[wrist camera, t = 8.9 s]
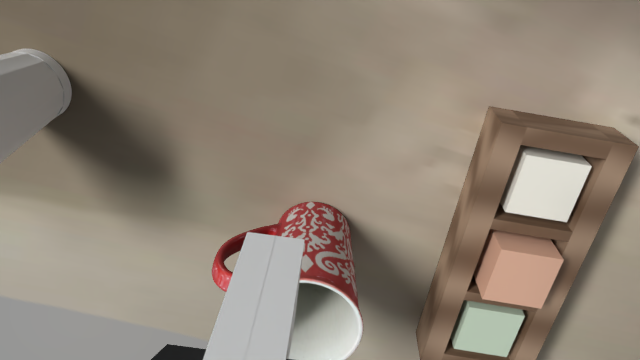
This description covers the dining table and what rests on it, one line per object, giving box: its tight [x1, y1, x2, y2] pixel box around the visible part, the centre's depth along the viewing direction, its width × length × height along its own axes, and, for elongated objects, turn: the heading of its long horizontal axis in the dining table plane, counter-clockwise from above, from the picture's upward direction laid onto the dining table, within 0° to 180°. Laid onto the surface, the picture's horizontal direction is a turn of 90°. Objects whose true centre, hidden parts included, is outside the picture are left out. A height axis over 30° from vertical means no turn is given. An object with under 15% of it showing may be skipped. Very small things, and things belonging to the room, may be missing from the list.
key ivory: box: [500, 145, 592, 222], centre depth 43 cm, size 5×5×4 cm
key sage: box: [451, 300, 525, 357], centre depth 51 cm, size 5×5×4 cm
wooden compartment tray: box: [416, 106, 639, 360], centre depth 47 cm, size 26×11×4 cm, turn 171°
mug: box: [212, 202, 363, 360], centre depth 44 cm, size 13×9×14 cm
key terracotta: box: [474, 229, 564, 309], centre depth 45 cm, size 5×5×4 cm
